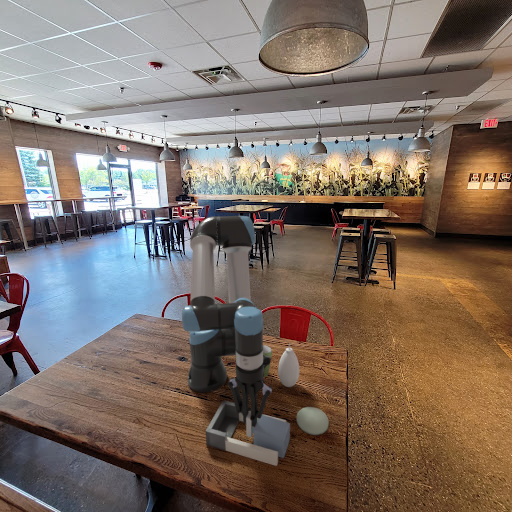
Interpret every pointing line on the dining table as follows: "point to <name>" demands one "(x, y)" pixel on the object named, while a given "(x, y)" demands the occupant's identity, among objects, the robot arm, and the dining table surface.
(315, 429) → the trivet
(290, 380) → the sauce bottle
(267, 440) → the painted block
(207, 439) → the bin
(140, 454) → the dining table surface
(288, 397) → the dining table surface
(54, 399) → the dining table surface
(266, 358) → the beverage can
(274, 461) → the channel
